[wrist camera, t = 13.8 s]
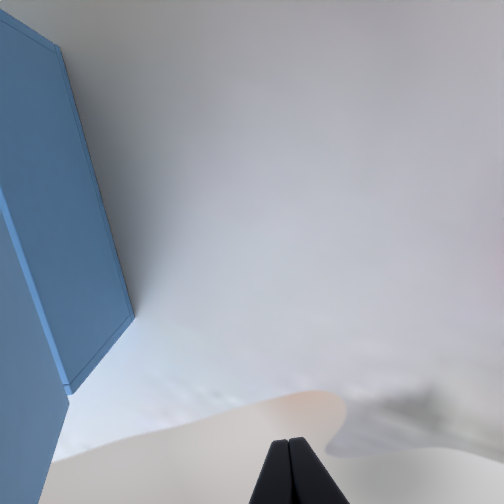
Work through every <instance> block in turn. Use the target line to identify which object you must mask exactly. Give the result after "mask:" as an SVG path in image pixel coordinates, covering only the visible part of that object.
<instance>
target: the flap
mask: <svg viewBox="0 0 504 504" xmlns="http://www.w3.org/2000/svg"><path fill="white" fill-rule="evenodd" d="M68 407H69V401H68V398H67V395H66V392H65V389H64V386H63V384H62V381H61V378H60V375H59V372H58V369H57V367H56V364H55V361H54V358H53V355H52V352H51V350H50V347H49V344H48V341H47V338H46V335H45V333H44V330H43V327H42V324H41V321H40V318H39V316H38V313H37V310H36V307H35V304H34V301H33V299H32V296H31V293H30V290H29V287H28V285H27V282H26V279H25V276H24V273H23V270H22V268H21V265H20V262H19V259H18V256H17V253H16V251H15V248H14V245H13V242H12V239H11V236H10V234H9V231H8V228H7V225H6V222H5V219H4V217H3V214H2V211H1V208H0V504H38V502H39V499H40V496H41V492H42V489H43V486H44V483H45V480H46V476H47V473H48V470H49V467H50V464H51V461H52V458H53V454H54V451H55V448H56V445H57V442H58V438H59V435H60V432H61V429H62V426H63V423H64V419H65V416H66V413H67V410H68Z"/></svg>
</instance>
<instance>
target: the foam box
mask: <svg viewBox="0 0 504 504" xmlns="http://www.w3.org/2000/svg"><path fill="white" fill-rule="evenodd" d="M0 208H1V211H2V214H3V217H4V219H5V222H6V225H7V228H8V231H9V234H10V236H11V239H12V242H13V245H14V248H15V251H16V253H17V256H18V259H19V262H20V265H21V268H22V270H23V273H24V276H25V279H26V282H27V285H28V287H29V290H30V293H31V296H32V299H33V301H34V304H35V307H36V310H37V313H38V316H39V318H40V321H41V324H42V327H43V330H44V333H45V335H46V338H47V341H48V344H49V347H50V350H51V352H52V355H53V358H54V361H55V364H56V367H57V369H58V372H59V375H60V378H61V381H62V384H63V386H64V389H65V392H66V395H72V394H74V393H75V392H76V390H77V389H78V388H79V387H80V385H81V384H82V383H83V382H84V381H85V379H86V378H87V377H88V376H89V374H90V373H91V372H92V371H93V369H94V368H95V367H96V366H97V365H98V363H99V362H100V361H101V360H102V358H103V357H104V356H105V355H106V353H107V352H108V351H109V350H110V349H111V347H112V346H113V345H114V344H115V342H116V341H117V340H118V339H119V337H120V336H121V335H122V334H123V333H124V331H125V330H126V329H127V328H128V326H129V325H130V324H131V323H132V322H133V320H134V319H135V317H134V314H133V310H132V306H131V303H130V299H129V296H128V292H127V288H126V285H125V281H124V278H123V274H122V270H121V267H120V263H119V260H118V256H117V252H116V249H115V245H114V242H113V238H112V234H111V231H110V227H109V224H108V220H107V216H106V213H105V209H104V206H103V202H102V198H101V195H100V191H99V188H98V184H97V180H96V177H95V173H94V170H93V166H92V162H91V159H90V155H89V152H88V148H87V144H86V141H85V137H84V134H83V130H82V126H81V123H80V119H79V116H78V112H77V108H76V105H75V101H74V98H73V94H72V90H71V87H70V83H69V80H68V76H67V72H66V69H65V65H64V62H63V58H62V54H61V51H60V48H59V47H58V46H57V45H55V44H53V43H52V42H51V41H49V40H48V39H46V38H45V37H43V36H42V35H40V34H38V33H37V32H35V31H34V30H32V29H31V28H29V27H28V26H26V25H25V24H23V23H21V22H20V21H18V20H17V19H15V18H14V17H12V16H11V15H9V14H8V13H6V12H4V11H3V10H1V9H0Z"/></svg>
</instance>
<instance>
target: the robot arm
mask: <svg viewBox="0 0 504 504" xmlns="http://www.w3.org/2000/svg"><path fill="white" fill-rule="evenodd" d="M249 504H350V503H349V502H348V501H347V499H346V498H345V496H344V495H343V493H342V492H341V490H340V489H339V488H338V486H337V485H336V483H335V482H334V480H333V479H332V477H331V476H330V475H329V473H328V471H327V470H326V469H325V467H324V466H323V464H322V463H321V461H320V460H319V458H318V457H317V456H316V454H315V453H314V451H313V450H312V449H311V447H310V445H309V444H308V442H307V441H306V440H305V438H303V437H298V438H291V439H289V443H288V441H287V440H286V439H284V440H276V441H273V442H272V443H271V446H270V449H269V451H268V454H267V456H266V459H265V462H264V464H263V467H262V470H261V472H260V475H259V478H258V480H257V483H256V486H255V488H254V491H253V494H252V496H251V499H250V502H249Z"/></svg>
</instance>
